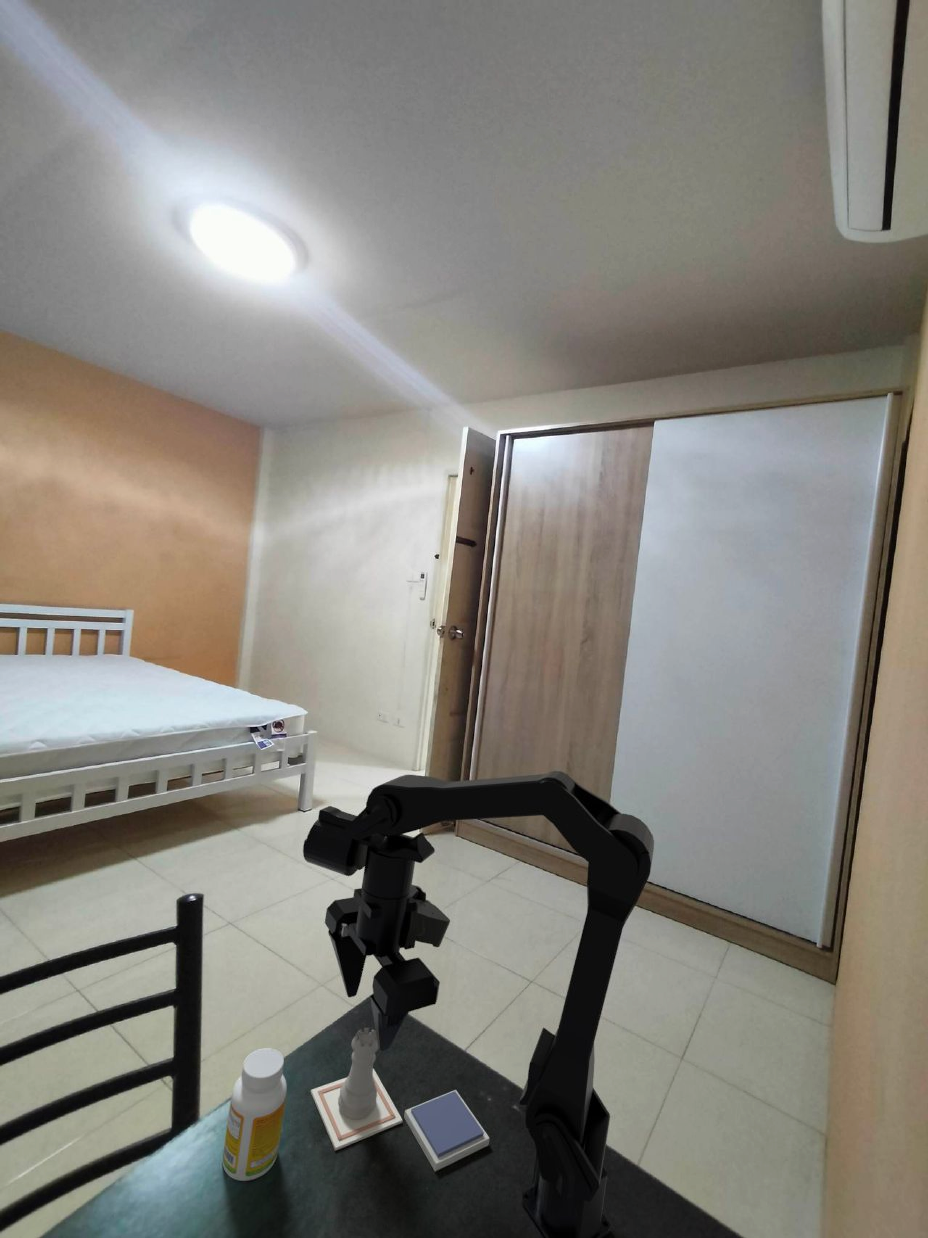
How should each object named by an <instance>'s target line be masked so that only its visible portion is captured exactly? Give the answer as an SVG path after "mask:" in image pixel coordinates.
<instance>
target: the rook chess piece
mask: <svg viewBox="0 0 928 1238" xmlns="http://www.w3.org/2000/svg"><path fill="white" fill-rule="evenodd" d="M369 1028H370V1027H364V1031H363V1030H362V1028H360V1029H359V1030H357V1032H356V1034H355V1036H354V1037H353V1039H352V1041H351V1045H350V1046H351V1048H352V1054H351V1061H352V1062H351V1067H350V1071H349V1074H348V1076H347V1077H346V1078H347V1079H346V1080H345V1081H344V1083H343V1085H342V1087H341V1089H340V1095H339V1097H338V1105H339V1108H340V1110H341V1112H342V1113H343V1114H344V1115H345V1116H346V1117H348V1118H351V1119H362V1118H365V1117H367V1116H368V1115H369V1114H370V1113H371V1112H372V1111H373V1110H374V1108H375V1106H376V1097H377V1087H376V1085H375V1081H374V1079H373V1069H374V1068H373V1067H374V1063H375V1062H376V1057H377V1056H376V1053H377V1051H378V1050H379V1046H378V1041H377V1036H376V1030H374V1029H371V1031H369V1030H370V1029H369Z"/></svg>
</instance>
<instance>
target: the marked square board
mask: <svg viewBox="0 0 928 1238" xmlns="http://www.w3.org/2000/svg"><path fill="white" fill-rule="evenodd" d="M346 1079H347V1077H344V1078H341V1079H337V1080H336V1081H332V1082H329V1083H326V1084H324V1085H321V1086H319V1087H315V1088H313V1089H311V1090H310V1094H311V1096H312V1100H313V1101H314V1104H315V1106H316V1108H317V1109H316V1110H318V1113H319V1115H320V1118H321V1120H322V1123H323V1125H324V1128H325V1130H326V1132H327V1134H328V1137H329V1140H330V1142H331V1144H332V1146H333V1147H332V1148H333V1149H334V1152H335V1151H337V1150H341V1149H343V1148H346V1147H347V1146H350V1145H352V1144H354V1143H357V1142H359V1141H362V1140H364V1139H367V1138H369V1137H371V1136H374V1135H376V1134H378V1133H381V1132H383V1131H385V1130H388V1129H390V1128H393V1127H395V1126H397V1125H400V1124H402V1123H403V1119H402V1117H401V1115H400V1112H399V1111H398V1109H397V1108H396V1105H395V1104H394V1102H393V1100H392V1099H391V1097H390V1095H389V1093H388V1092H387V1090H386V1088H385V1086H384V1085H383V1083H382V1081H381V1079H380V1077H379V1075H378V1074H377V1072H376V1070H375V1069H374V1068H373V1079H374V1081H375V1085H376V1087H377V1097H376V1106H375V1108H374V1110H373V1111H372V1112H371V1113H370V1114H369V1115H368V1116H367V1117H365V1118H362V1119H351V1118H348V1117H346V1116H345V1115H344V1114H343V1113H342V1112H341V1110H340V1108H339V1105H338V1097H339V1095H340V1089H341V1087H342V1085H343V1083H344V1081H345V1080H346Z"/></svg>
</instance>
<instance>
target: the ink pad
mask: <svg viewBox="0 0 928 1238" xmlns="http://www.w3.org/2000/svg"><path fill="white" fill-rule="evenodd" d="M403 1118H404V1120H405V1122H406V1124H407V1125H408V1127H409V1130H410V1131H411V1132H412V1134H413V1136H414V1138H415V1140H416V1141H417V1143H418V1144H419V1146H420V1148H421V1150H422V1151H423V1154H424V1156H425V1157H426V1158H427V1160H428V1162H429V1164H430V1165H431V1167H432V1169H433V1171H434V1172H437V1171H439V1170H441V1169H443V1168H445V1167H447V1166H450V1165H452V1164H453V1163H456V1162H457V1161H459V1160H462V1159H463V1158H465V1157H468V1156H470V1155H472V1154H473V1153H476V1152H478V1151H480V1150H481V1149H484V1148H486V1147H488V1146H489V1144H490V1136H489V1135H488V1134H487V1132H486V1131H485V1130H484V1128H483V1127H482V1125H481V1124H480V1122H479V1121H478V1119H477V1118H476V1116H475V1115H474V1113H473V1112H472V1111H471V1110H470V1108H469V1107H468V1105H467V1104H466V1102H465V1101H464V1099H463V1098H462V1097H461V1095H460V1094H459V1092H458V1091H457V1089H454V1090H452V1091H449V1092H447V1093H445V1094H442V1095H439V1096H437V1097H434V1098H432V1099H430V1100H427V1101H425V1102H423V1103H420V1104H418V1105H415V1106H413V1107H410V1108H408V1109H405V1110H404V1115H403Z"/></svg>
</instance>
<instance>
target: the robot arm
mask: <svg viewBox="0 0 928 1238" xmlns="http://www.w3.org/2000/svg"><path fill="white" fill-rule="evenodd" d="M365 806H366V807H365V808H364V809H363V810H362V811H361V812H359V814H357V815H355V814H351V813H349V812H345V811H343V810H341V809H340V808H337V807H335V806H332V805H328V806H326V807H324V808H322V809H319V812H318V818H317V819H316V821H315V822H313V825H312V826H311V827H310V828H309V832H308V834H307V837H306V838H305V839H304V841H303V848H302V853H303V855H302V856H303V858H304V860H305V861H306V862H307V863H309V864H312V865H315V866H317V867H320V868H323V869H325V870H329V871H332V872H335V873H338V874H340V875H343V876H346V877H350V876H352V875H354V874H355V873H356V872H357V871H361V870H363V875H362V876H363V877H362V883H361V888H354V889H353V890H354V891H353V896H352V897H346V898H341V899H334V900H333V902H332V903H331V904H330V905H329V906H328V907H326V913H325V919H324V924H325V926H326V927H327V929H328V932H327V933H328V936H329V938H330V941H331V944H332V947H333V948H332V949H333V951H334V954H335V958H336V960H337V965H338V967H339V972H340V975H341V977H342V978H341V979H342V982H343V986H344V990H345V994H346V995H347V997H348V998H353V997H356V996H357V994H358V991H359V987H360V985H361V980H362V976H363V972H364V967H365V964H366V959H367V956H374V958H375V959H376V960H377V962H378V963H379V965H380V968H379V970H378V971H377V972H376V973H375V974H374V975H373V981H372V992H373V994H371V995H370V996H369V998H370V1005H371V1011H372V1017H373V1023H374V1029H375V1031H376V1033H375V1034H376V1036H377V1041H378V1046H379V1048H378V1050H379V1051H380V1052H384V1051H386V1050H389V1049H390V1048H391V1046H392V1044H393V1042H394V1040H395V1038H396V1036H397V1034H398V1033H399V1031H400V1028H401V1027H402V1024H403V1022H404V1021H405V1020H406V1017H407V1016H408V1014H409V1013H410V1012H413V1011H417V1010H420V1009H423V1008H427V1007H430V1006H434V1005H436V1004H437V1001H438V997H439V990H440V984H441V982H440V980H439V979H438V978H437V977H436V976H435V974H434V973H433V972H432V971H431V970H430V969H429V967H428V966H427V965H426V964H425V963H424V962H423V960H422V959H421V958H420V957H413V958H410V959H407V960H406V958H405V957H404V956H403V955H402V954H401V953H400V951H401V950H400V949H404V950H406V951H407V950H410V949H415V947H416V942H419V943H424V944H429V945H432V947H434V948H439V947H440V946H441V944H442V942H443V939H444V937H445V935H446V933H447V930H448V928H449V925H450V923H451V920H450V918H449V917H448V916H447V915H446V914H445V913H444V912H443V911H442V910H441V909H439V907H438V906H437V905H435V904H433V903H432V902H431V901H430V900H428V899H427V893H426V891H424V889H422V888H421V887H420V886H419V885H414V884H413V878H414V873H415V872H414V871H415V864H416V863H419V864H422V863H423V862H424V861H426V860H427V859H428V858H429V857H430V856H432V855H433V854H434V853H435V851H436V850H435V847H434V846H433V845H432V843H431V842H430V841H429V840H428V839H427V838H426V836H425V833H424V832H420V833H418V834H417V835H415V836H412V835H411V836H410V835H407V834H408V833H411V832H416V831H418V830H421V829H424V828H427V827H431V826H433V825H435V824H439V823H442V822H451V821H463V820H464V821H467V820H469V821H470V820H483V819H485V820H486V819H499V818H500V819H502V818H516V817H517V818H520V817H537V816H543V817H544V818H546V819H547V820H548V821H549V822H550V823H551V824H552V825H553V826H554V827H555V828H556V829H557V831H558V832H559V833H560V834H561V835H562V837H563V838H564V840H565V841H566V842H567V843H568V845H570V847H571V848H572V849H573V850H574V851H575V852H576V853H577V855H579V856H580V857H582V858H583V859H584V860H585V861H587V862H588V864H587V880H586V897H587V900H586V901H587V904H586V905H587V907H586V908H587V910H586V915H585V920H584V924H583V929H582V932H581V935H580V936H581V937H580V939H579V944H578V948H577V952H576V956H575V959H574V963H573V967H572V972H571V976H570V978H569V979H570V980H569V984H568V987H567V992H566V995H565V1000H564V1003H563V1008H562V1011H561V1016H560V1019H559V1024H558V1028H557V1029H556V1031H555V1033H554V1034H553V1033H552V1032H551V1031H549V1030H548V1029H547V1028H545V1027H542V1029H541V1032H540V1035H539V1037H538V1040H537V1043H536V1046H535V1047H534V1048H535V1049H534V1051H533V1052H532V1056H531V1058H530V1062H529V1064H528V1065H529V1066H528V1070H527V1071H528V1073H527V1080H526V1083H525V1085H524V1088H523V1091H522V1093H521V1096H520V1099H519V1101H518V1103H519V1105H520V1106H525V1108H524V1111H523V1112H524V1114H523V1123H524V1127H525V1129H526V1130H527V1131H528V1133H529V1136H530V1137H531V1138H532V1140H533V1141H534V1145H535V1150H536V1152H535V1157H534V1166H533V1171H532V1177H531V1178H532V1180H531V1183H532V1184H533V1186H532V1187H530V1188H528V1189H527V1190H525V1191H524V1192H522V1193H521V1198H520V1202H521V1203H522V1205H523V1206H524V1208H525V1209H526V1212H528V1213H529V1216H530V1217H531V1218H532V1219H533V1221H534V1223H535V1224H536V1226H537V1227H538V1229H539V1230H540V1231H541V1233H542V1235H543V1236H544V1237H545V1238H603V1237H605V1236H606V1235H608V1234H609V1233H610V1232H609V1231H611V1223H610V1222H609V1220H608V1219H607V1218H606V1216H605V1215H604V1214H603V1208H604V1201H605V1194H606V1186H607V1182H608V1181H607V1180H608V1172H607V1171H606V1169H605V1168H604V1167H603V1165H604V1161H605V1160H604V1159H605V1152H606V1147H607V1140H608V1133H609V1127H610V1122H611V1114H610V1112H609V1111H608V1109H607V1108H606V1106H605V1104H604V1103H603V1101H602V1099H601V1098H600V1096H599V1095H598V1093H597V1091H596V1090H595V1088H594V1074H595V1073H594V1072H595V1041H596V1040H595V1039H596V1036H597V1032H598V1028H599V1023H600V1020H601V1016H602V1014H603V1013H602V1011H603V1008H604V1004H605V1001H606V1000H605V999H606V997H607V993H608V989H609V985H610V981H611V977H612V973H613V968H614V965H615V961H616V956H617V953H618V949H619V945H620V940H621V937H622V933H623V929H624V926H625V924H626V922H627V920H628V918H629V917H630V915H631V913H632V912H633V910H634V908H635V907H636V905H637V903H638V901H639V899H640V897H641V894H642V893H643V890H644V889H645V886H646V884H647V883H648V880H649V878H650V875H651V870H652V863H653V858H654V857H653V856H654V850H655V840H654V835H653V834H652V832H651V830H650V828H649V827H648V825H646V824H645V822H643V821H642V819H641V818H638V817H636V816H634V815H632V814H628V813H622V812H620V811H619V810H618V809H616V808H615V807H614V806H613V805H612V804H611V803H610V802H608V801H606V800H605V799H603V798H602V797H601V796H598V795H596V794H595V793H593V792H591V791H590V790H588V789H586V788H585V787H584V786H582V785H580V784H579V783H578V782H577V781H576V780H575V779H573V778H572V777H571V776H570V775H569V774H568V773H565V772H564V771H560V770H552V771H549V772H546V773H541V774H540V773H539V774H529V775H518V776H517V775H515V776H505V777H494V778H493V777H491V778H482V779H481V778H480V779H469V780H467V779H466V780H457V781H456V780H455V781H451V780H442V779H440V778H436V777H433V776H428V775H427V776H425V775H417V774H403V775H400V776H398V777H396V778H393V779H391V780H389V781H386V782H384V783H381V784H379V785H377V786H375V787H374V788H372V789H371V791H370V793H369V794H368V796H367V799H366V802H365Z"/></svg>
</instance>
